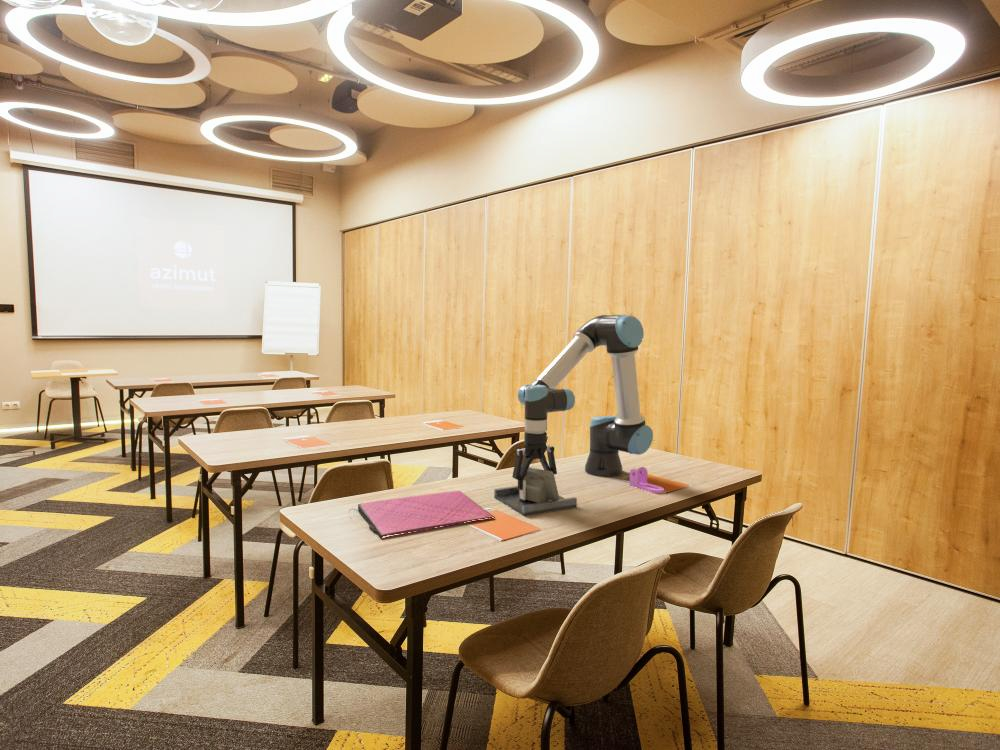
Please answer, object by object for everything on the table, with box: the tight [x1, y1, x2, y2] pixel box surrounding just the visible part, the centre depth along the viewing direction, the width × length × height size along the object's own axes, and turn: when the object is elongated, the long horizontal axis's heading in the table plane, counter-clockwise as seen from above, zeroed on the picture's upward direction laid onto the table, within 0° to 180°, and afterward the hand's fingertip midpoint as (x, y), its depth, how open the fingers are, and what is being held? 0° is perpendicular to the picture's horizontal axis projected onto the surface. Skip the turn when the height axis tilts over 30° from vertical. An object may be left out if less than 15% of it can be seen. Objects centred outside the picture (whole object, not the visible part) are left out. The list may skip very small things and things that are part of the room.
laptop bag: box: [348, 490, 496, 539], centre depth 177 cm, size 40×4×27 cm
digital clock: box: [519, 466, 560, 503], centre depth 191 cm, size 16×9×11 cm, turn 37°
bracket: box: [628, 466, 665, 494], centre depth 208 cm, size 13×6×7 cm, turn 35°
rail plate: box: [493, 485, 578, 517], centre depth 192 cm, size 20×21×3 cm
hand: (534, 496), depth 192 cm, fingers open, 9 cm apart
